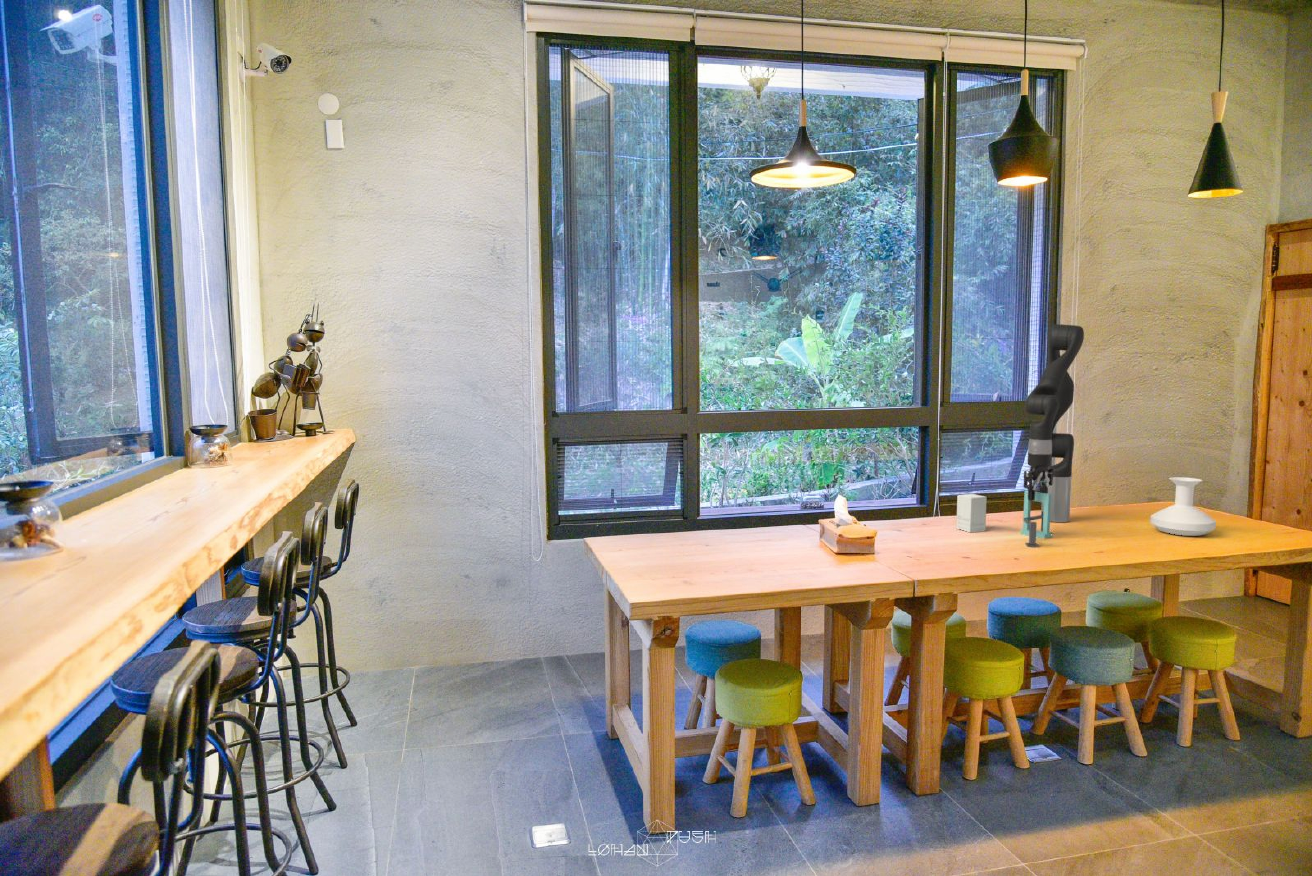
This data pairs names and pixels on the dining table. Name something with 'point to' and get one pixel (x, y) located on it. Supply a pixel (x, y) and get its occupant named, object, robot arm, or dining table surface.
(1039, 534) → the teal frame
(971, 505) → the supplement box
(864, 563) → the dining table surface
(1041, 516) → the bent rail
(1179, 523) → the candle holder
